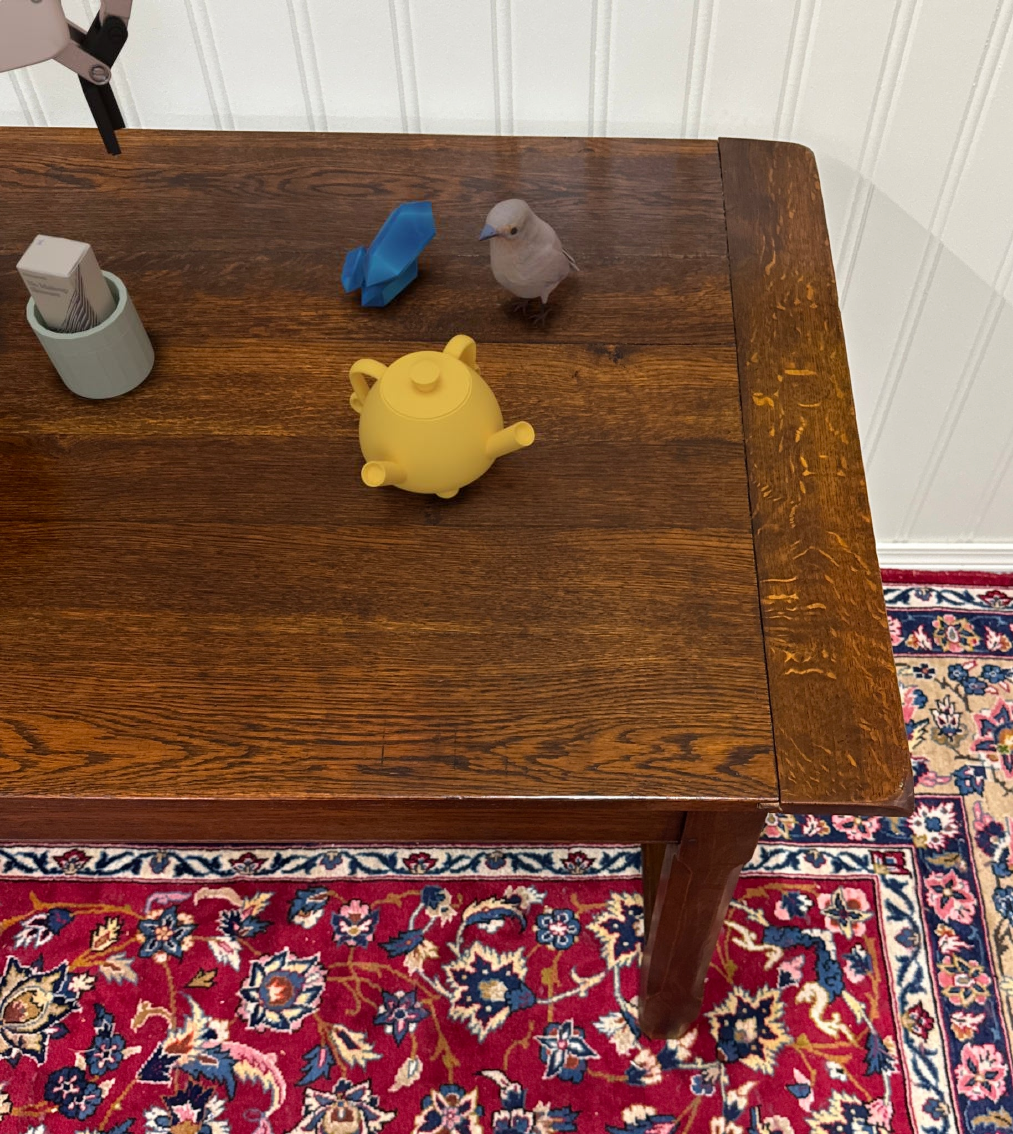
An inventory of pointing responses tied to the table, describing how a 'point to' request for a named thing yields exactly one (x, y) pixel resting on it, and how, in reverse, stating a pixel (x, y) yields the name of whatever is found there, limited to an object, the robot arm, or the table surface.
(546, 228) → the bird
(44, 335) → the jar
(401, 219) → the crystal
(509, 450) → the teapot
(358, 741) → the table surface
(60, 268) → the box
